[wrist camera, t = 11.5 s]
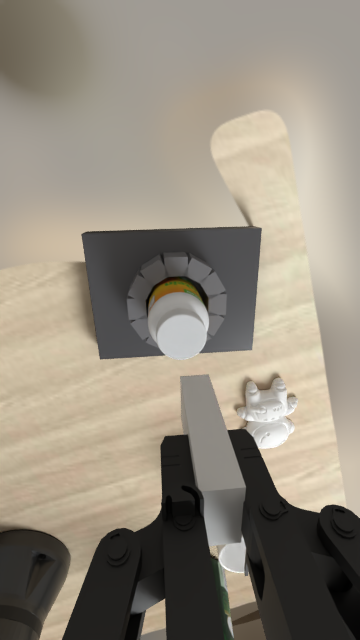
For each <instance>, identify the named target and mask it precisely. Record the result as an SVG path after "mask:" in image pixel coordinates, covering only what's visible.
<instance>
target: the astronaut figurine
mask: <svg viewBox="0 0 360 640" xmlns="http://www.w3.org/2000/svg"><path fill="white" fill-rule="evenodd" d="M245 396H246V407H240V408H238V409H237V415H238V416H239V417H241V418H244V419H245V420H247V421H249V422H248V423H247V427H244V428H243V429H246V430H247V431H248V432H249V433H250V434H251V435H252V436H253V437H254V440H255V442H256V444H257V446H258V448H263V449H268V448H274V447H277V446H279V445H281V444H282V443H284V442H285V441H286V439H287V438H288V436H289V433H292V432H293V431H294V428H295V427H294V424H293V422H292V421H291V420H289V419H287V418H286V417H285V415H288V414H291V413H292V412H293V411H294V410H295V409H294V408H296V407H297V402H298V399H297V398H296V397H289V398H287V390H286V387H285V384H284V381H283V380H282V379H281V378H275V379H274V381H273V383H272V385H271V388H270V389H267V390H258V389H257V386H256V384H255V383H254V382H253V381H249V382H248V383H247V385H246V395H245Z"/></svg>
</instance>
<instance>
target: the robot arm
mask: <svg viewBox="0 0 360 640" xmlns="http://www.w3.org/2000/svg"><path fill="white" fill-rule="evenodd" d="M180 384H181V418H182V426H183V433H184V435H175V436H165V437H164V440H163V442H162V444H161V476H162V502H161V506H162V508H161V511H160V513H159V515H158V517H157V518H156V519H155V520H154V521H153V522H152V523H151V524H150V525H148V526H146V527H145V528H142V529H140V530H138V531H136V532H133V531H131V530H129V529H126V528H121V529H115V530H113V531H111V532H109V533H108V534H107V535H106V536H105V537H104V538H102V539H101V541H100V543H99V545H98V547H97V548H96V551H95V554H94V556H93V559H92V562H91V564H90V567H89V569H88V572H87V575H86V577H85V580H84V583H83V585H82V588H81V591H80V593H79V596H78V599H77V601H76V604H75V607H74V609H73V612H72V614H71V617H70V620H69V622H68V625H67V628H66V630H65V633H64V636H63V638H62V640H140V637H141V632H142V627H143V622H144V617H145V612H146V609H148V608H150V607H151V606H153V605H155V604H156V603H158V602H160V601H161V600H163V599H165V607H166V635H167V640H225V638H224V633H223V627H222V621H221V615H220V609H219V603H218V597H217V591H216V585H215V579H214V573H213V567H212V561H211V555H210V549H209V546H216V545H224V544H233V543H241V541H242V535H243V538H244V542H245V546H246V554H245V565H244V571H245V576H248V572H249V575H250V578H251V582H252V586H253V590H254V594H255V598H256V601H257V605H258V609H259V613H260V617H261V621H262V624H263V628H264V632H265V636H266V639H267V640H360V518H359V517H358V516H356V515H355V514H354V513H353V512H352V511H350V510H348V509H346V508H344V507H342V506H338V505H327V506H325V507H324V508H323V509H321V512H320V513H317V512H312V511H308V510H303V509H300V508H297V507H294V506H292V505H291V504H289V503H288V502H287V501H286V500H285V499H284V498H283V497H281V496H280V495H279V493H278V491H277V490H276V488H275V485H274V483H273V481H272V478H271V476H270V474H269V472H268V469H267V467H266V465H265V462H264V460H263V458H262V456H261V453H260V451H259V449H258V446H257V444H256V442H255V440H254V437H253V436H252V435H251V434H250V433H249V432H248V431H247V430H246V429H236V430H227V428H226V425H225V422H224V419H223V416H222V413H221V410H220V407H219V404H218V401H217V398H216V395H215V392H214V389H213V386H212V383H211V380H210V377H209V374H208V375H194V376H180ZM69 565H70V554H69V551H68V549H67V548H66V547H65V546H64V545H63V544H62V543H61V542H60V541H58V540H57V539H55V538H53V537H51V536H49V535H46V534H43V533H40V532H35V531H25V530H18V531H9V532H4V533H0V640H39V638H40V635H41V631H42V627H43V624H44V621H45V619H46V617H47V615H48V613H49V611H50V609H51V607H52V606H53V604H54V602H55V600H56V598H57V596H58V594H59V592H60V590H61V588H62V586H63V584H64V582H65V580H66V577H67V574H68V570H69Z"/></svg>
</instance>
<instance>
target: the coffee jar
mask: <svg viewBox="0 0 360 640" xmlns="http://www.w3.org/2000/svg"><path fill="white" fill-rule="evenodd" d="M211 561H212V567H213V573H214V579H215V585H216V591H217V597H218V603H219V609H220V615H221V621H222V627H223V633H224V638H225V640H234V636H233V630H232V623H231V615H230V607H229V598H228V590H227V582H226V577H225V571H224V568H223V567H222V566H221V565H220V563H219V561H218V560H215V559H213V558H211Z"/></svg>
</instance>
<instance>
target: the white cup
mask: <svg viewBox="0 0 360 640" xmlns="http://www.w3.org/2000/svg"><path fill="white" fill-rule="evenodd" d="M217 552H218V560H219V563H220V565H221V566H222V567H223V568H225V569H226V570H228V571H231V572H236V573H245V571H244V565H245V554H246V546H245V542H244V538H243V535H242V541H241V543H233V544H224V545H217Z"/></svg>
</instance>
